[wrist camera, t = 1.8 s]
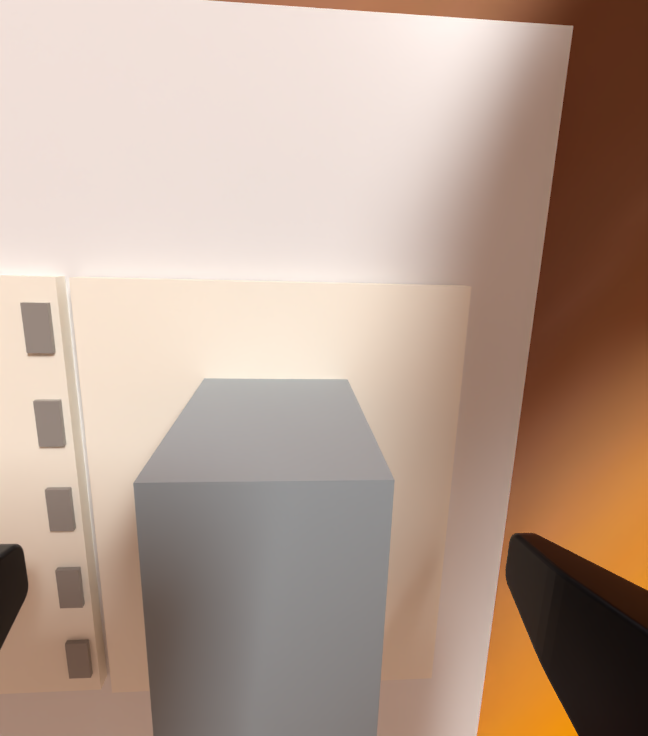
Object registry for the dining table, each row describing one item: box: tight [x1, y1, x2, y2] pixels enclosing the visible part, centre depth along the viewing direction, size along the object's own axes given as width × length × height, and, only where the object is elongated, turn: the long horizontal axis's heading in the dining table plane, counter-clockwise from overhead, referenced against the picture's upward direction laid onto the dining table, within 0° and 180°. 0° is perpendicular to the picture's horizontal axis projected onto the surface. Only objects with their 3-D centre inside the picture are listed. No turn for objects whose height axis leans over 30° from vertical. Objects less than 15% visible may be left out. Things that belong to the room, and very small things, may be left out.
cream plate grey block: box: [69, 277, 471, 736], centre depth 8 cm, size 8×10×5 cm
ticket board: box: [0, 0, 573, 736], centre depth 10 cm, size 22×20×3 cm
